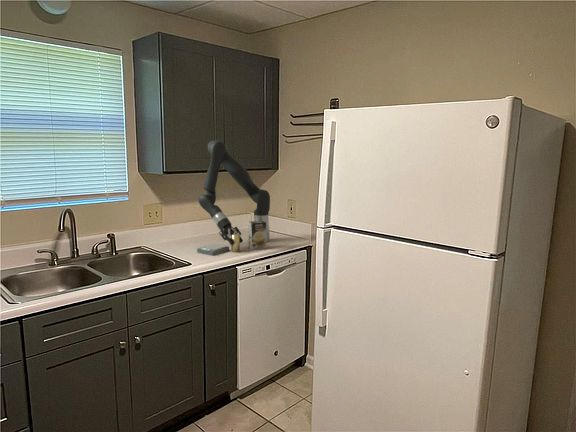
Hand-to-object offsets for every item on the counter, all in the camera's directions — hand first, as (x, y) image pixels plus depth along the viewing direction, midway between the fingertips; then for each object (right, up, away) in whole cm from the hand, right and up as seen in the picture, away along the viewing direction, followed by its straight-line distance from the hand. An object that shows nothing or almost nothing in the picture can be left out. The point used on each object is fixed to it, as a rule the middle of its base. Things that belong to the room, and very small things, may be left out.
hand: (237, 243), depth 253 cm
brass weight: (-1, -5, +2) cm, 5 cm away
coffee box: (+11, -4, +9) cm, 15 cm away
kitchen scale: (-14, -5, +1) cm, 15 cm away
